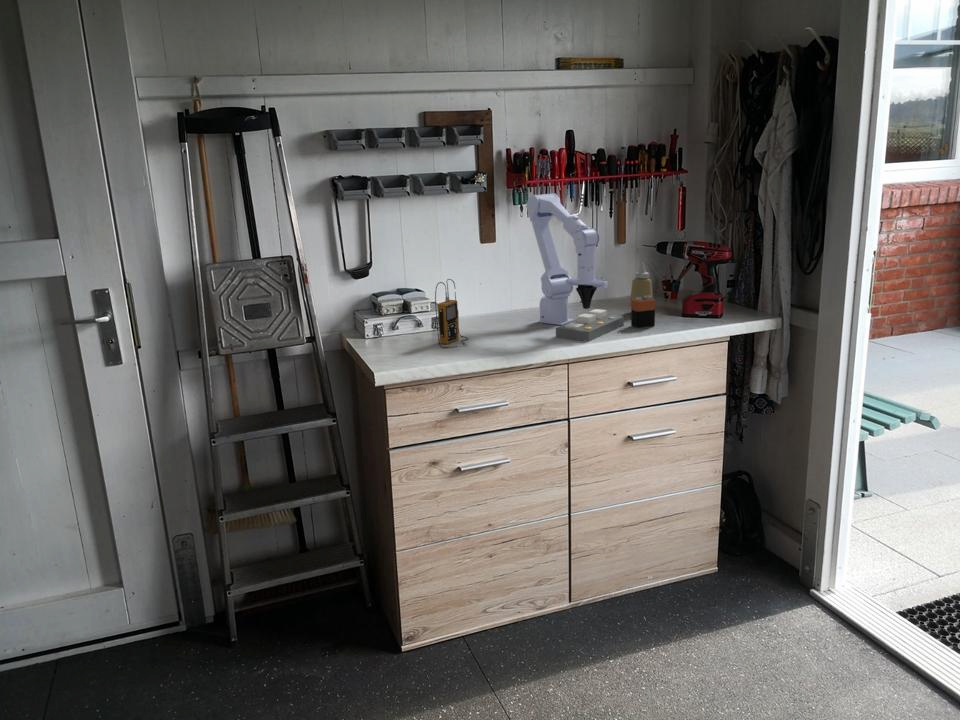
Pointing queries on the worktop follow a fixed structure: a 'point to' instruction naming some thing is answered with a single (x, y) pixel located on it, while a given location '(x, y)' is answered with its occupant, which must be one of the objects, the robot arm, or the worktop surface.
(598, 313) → the button
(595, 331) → the button panel
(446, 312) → the multimeter
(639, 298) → the battery
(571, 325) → the button
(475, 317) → the worktop surface
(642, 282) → the squeeze bottle
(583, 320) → the button
